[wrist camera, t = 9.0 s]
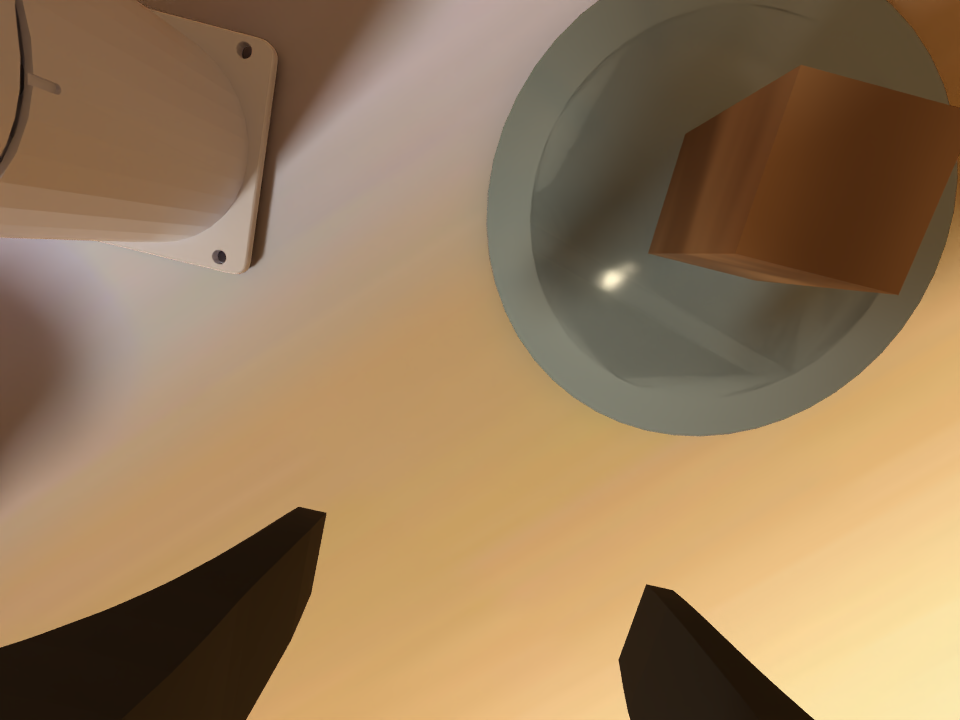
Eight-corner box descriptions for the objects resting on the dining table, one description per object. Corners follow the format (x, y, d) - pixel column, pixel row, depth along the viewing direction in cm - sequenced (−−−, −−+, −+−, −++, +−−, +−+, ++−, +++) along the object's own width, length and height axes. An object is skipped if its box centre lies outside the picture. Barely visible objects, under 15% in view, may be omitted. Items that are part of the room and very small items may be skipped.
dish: (444, 374, 19) (441, 381, 18) (552, -87, 16) (557, -115, 14) (822, 464, 20) (843, 477, 19) (1005, 41, 16) (1045, 24, 15)
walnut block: (647, 253, 17) (734, 253, 11) (684, 134, 16) (800, 64, 10) (755, 280, 17) (898, 294, 11) (798, 163, 16) (977, 112, 10)
